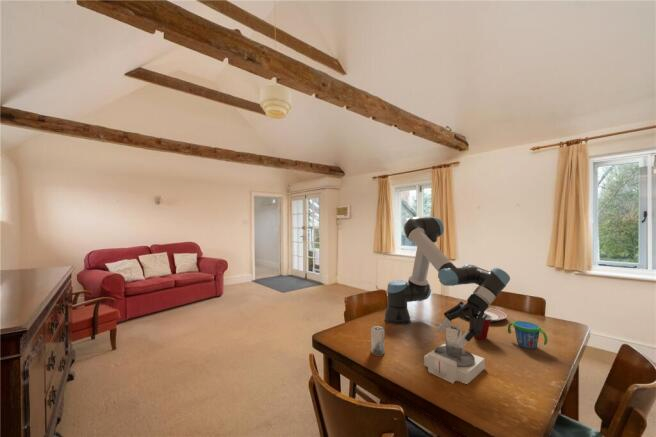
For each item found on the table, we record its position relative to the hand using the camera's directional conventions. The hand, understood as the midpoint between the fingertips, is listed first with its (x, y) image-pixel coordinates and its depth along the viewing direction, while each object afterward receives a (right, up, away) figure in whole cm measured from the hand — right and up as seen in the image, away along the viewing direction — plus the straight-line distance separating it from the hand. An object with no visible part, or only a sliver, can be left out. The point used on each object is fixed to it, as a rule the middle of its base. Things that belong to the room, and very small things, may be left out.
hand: (448, 337), depth 108 cm
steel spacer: (-27, -12, +12) cm, 32 cm away
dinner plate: (+46, -13, +57) cm, 75 cm away
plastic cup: (+29, -12, +27) cm, 42 cm away
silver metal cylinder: (+2, -7, 0) cm, 7 cm away
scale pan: (+2, -8, 0) cm, 8 cm away
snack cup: (+46, -12, +18) cm, 51 cm away
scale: (+1, -12, -1) cm, 12 cm away
